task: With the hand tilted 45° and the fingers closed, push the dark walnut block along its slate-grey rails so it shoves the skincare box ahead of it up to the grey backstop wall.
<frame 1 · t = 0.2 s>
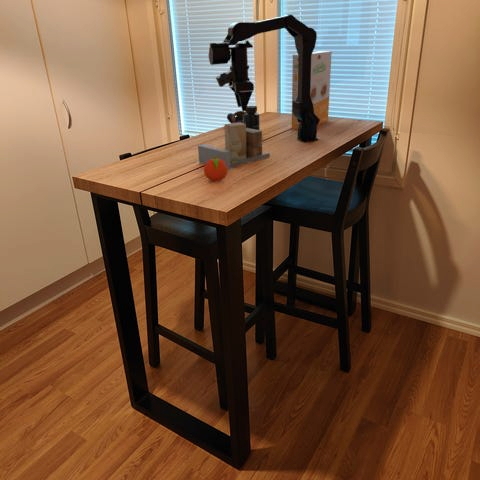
hand: (241, 108, 156), 14 cm above the table, tool pointing down, fingers open, 9 cm apart
red rounded fruit: (216, 182, 127), on the table
supplement bottle: (251, 136, 179), on the table
skincare box: (236, 160, 147), resting in backstop rail
backstop rail: (214, 166, 142), on the table
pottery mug: (238, 128, 195), on the table
walnut block: (248, 143, 149), point 5 cm above the table, slide at 0.0 cm
cereal box: (310, 125, 194), on the table
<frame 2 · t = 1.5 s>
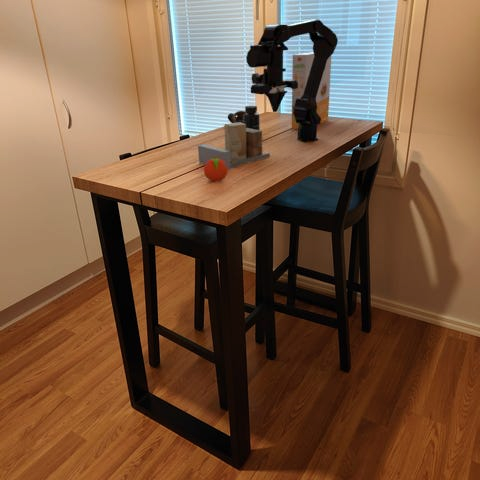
hand: (274, 111, 154), 13 cm above the table, tool pointing down, fingers closed
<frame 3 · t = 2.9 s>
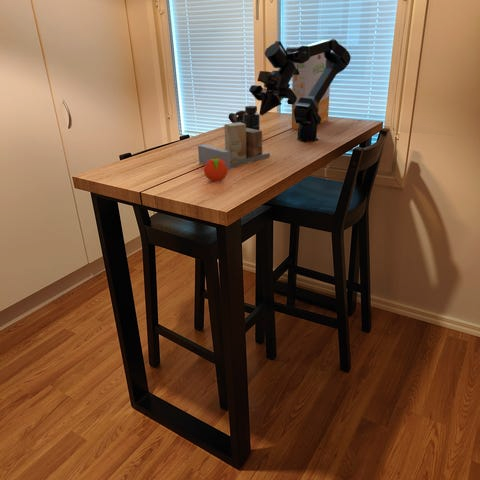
hand: (260, 114, 148), 13 cm above the table, tool tilted 45°, fingers closed
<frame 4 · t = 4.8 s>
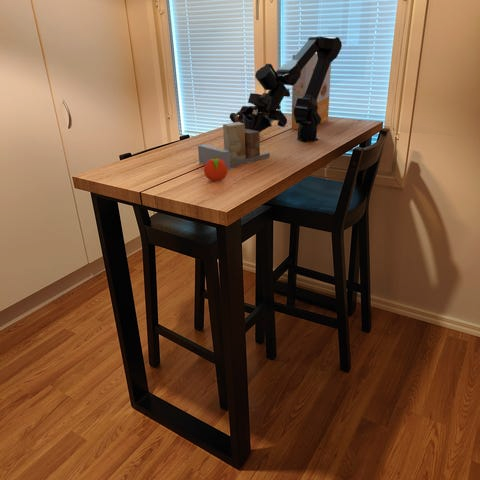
hand: (251, 136, 148), 7 cm above the table, tool tilted 45°, fingers closed, pressing on walnut block
skincare box: (235, 160, 147), resting in backstop rail, touching walnut block
walnut block: (246, 143, 148), point 5 cm above the table, slide at 1.1 cm, touching gripper, skincare box
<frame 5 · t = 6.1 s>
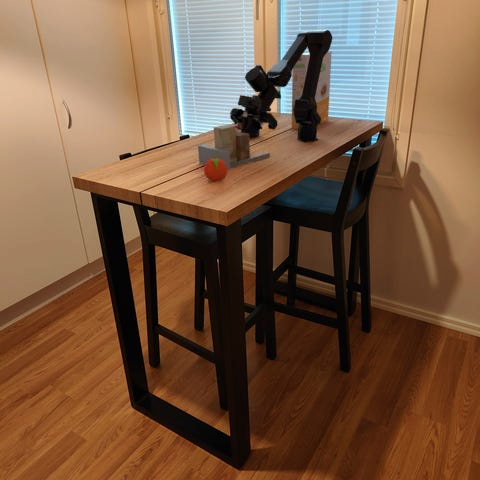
hand: (241, 138, 146), 7 cm above the table, tool tilted 45°, fingers closed
skincare box: (227, 163, 144), resting in backstop rail, touching walnut block
walnut block: (236, 146, 145), point 5 cm above the table, slide at 5.8 cm, touching skincare box
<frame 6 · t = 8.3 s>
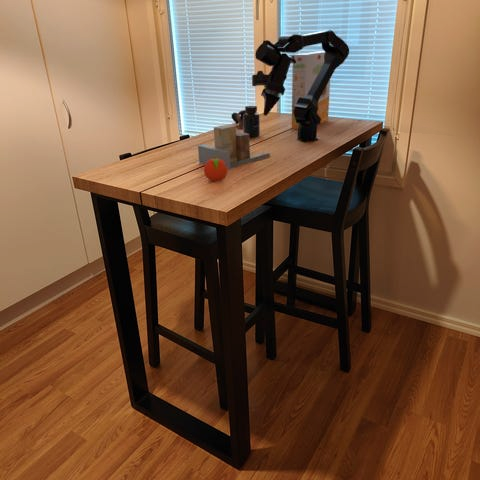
hand: (264, 115, 153), 12 cm above the table, tool tilted 25°, fingers closed
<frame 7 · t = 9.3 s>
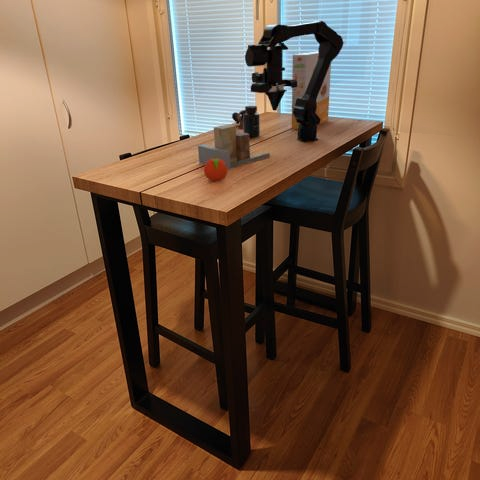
hand: (274, 110, 157), 13 cm above the table, tool pointing down, fingers closed
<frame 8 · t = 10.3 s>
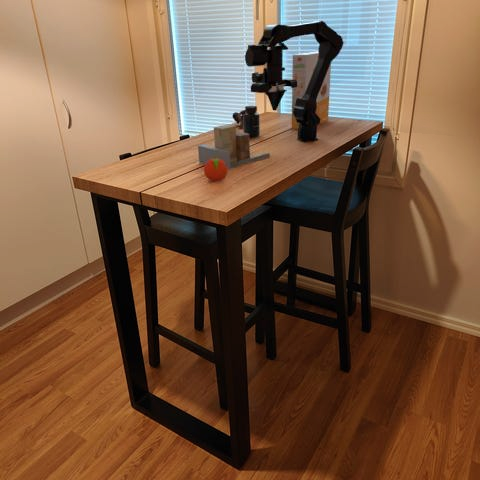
hand: (274, 110, 157), 13 cm above the table, tool pointing down, fingers closed
at the end: walnut block slide at 5.8 cm; skincare box 5.0 cm from the backstop rail (horizontally); skincare box tilted 1° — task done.
